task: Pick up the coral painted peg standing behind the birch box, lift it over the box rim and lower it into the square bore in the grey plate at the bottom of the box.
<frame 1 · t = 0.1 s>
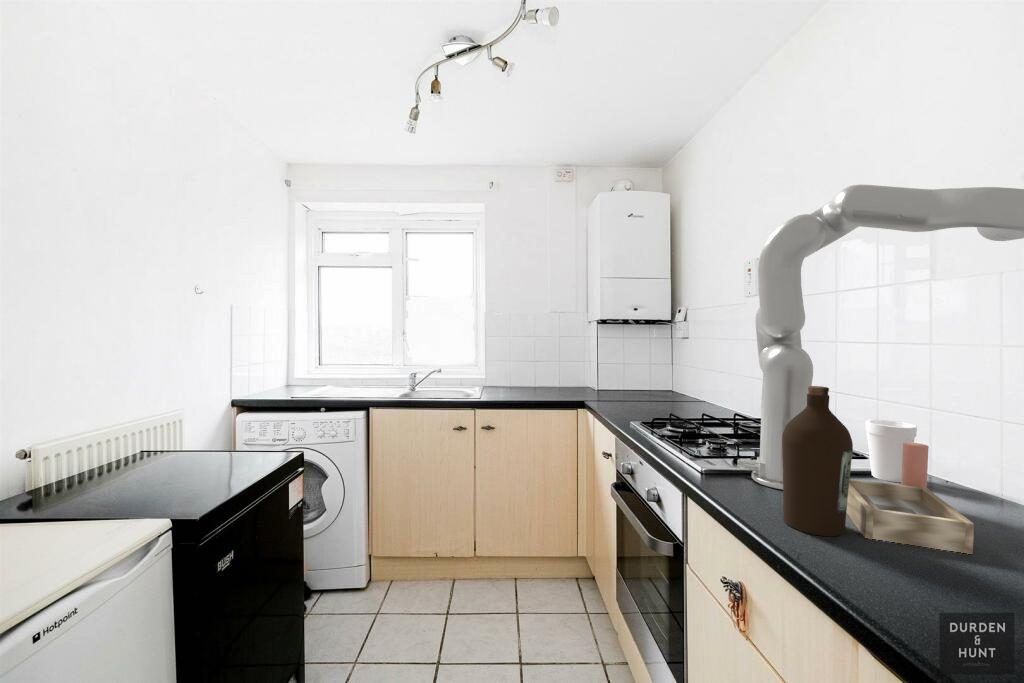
peg: (912, 502, 97), on the worktop
foam cup: (888, 478, 113), on the worktop
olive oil: (813, 526, 85), on the worktop
box: (897, 525, 86), on the worktop
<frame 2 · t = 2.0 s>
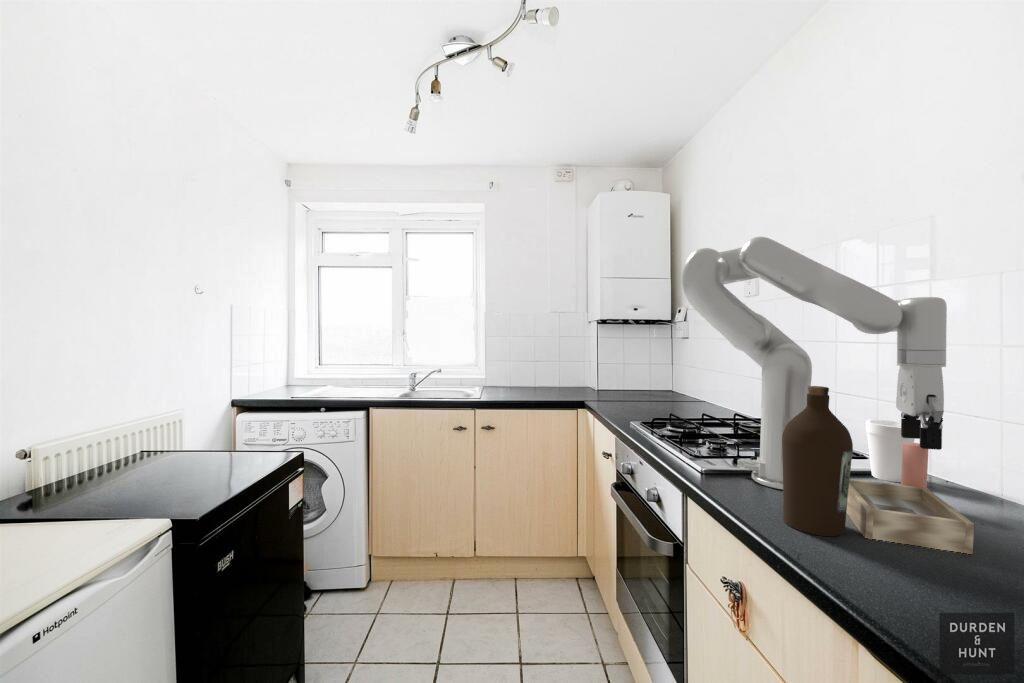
hand: (920, 443, 96), 12 cm above the worktop, tool pointing down, fingers open, 9 cm apart
nothing on the worktop moved.
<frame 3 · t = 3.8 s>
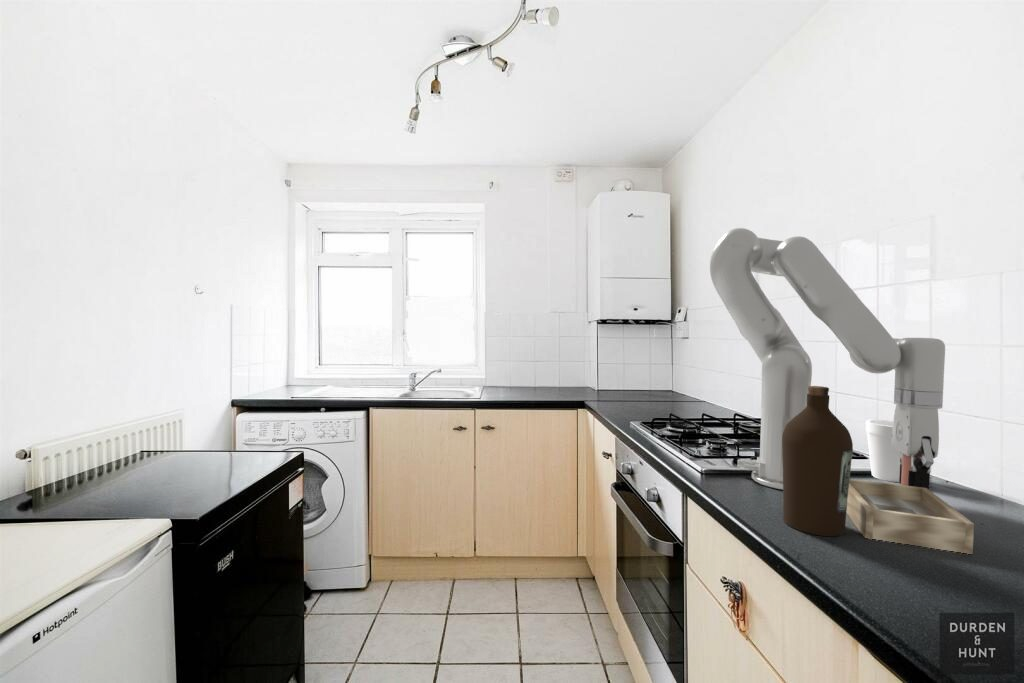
hand: (913, 486, 97), 3 cm above the worktop, tool pointing down, fingers closed on peg, 4 cm apart
peg: (912, 502, 97), on the worktop, touching gripper
everything else where it was.
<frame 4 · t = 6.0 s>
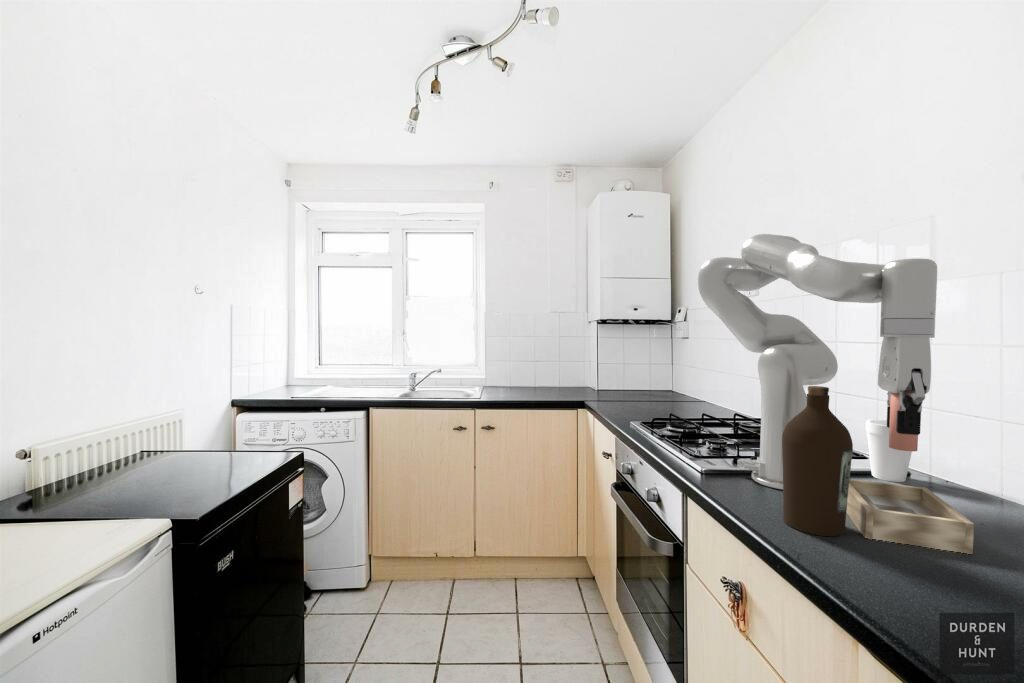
hand: (902, 430, 85), 17 cm above the worktop, tool pointing down, fingers closed on peg, 4 cm apart
peg: (902, 448, 85), point 14 cm above the worktop, touching gripper
everything else where it was.
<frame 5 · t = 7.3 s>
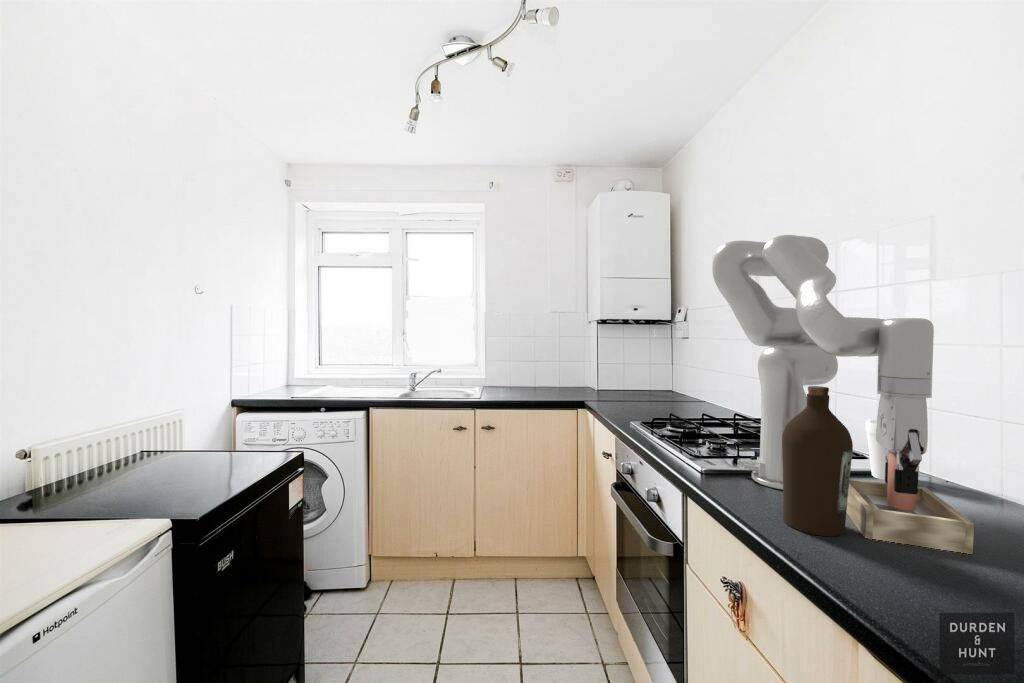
hand: (900, 487, 85), 7 cm above the worktop, tool pointing down, fingers closed on peg, 4 cm apart
peg: (901, 506, 85), point 4 cm above the worktop, touching gripper
everything else where it was.
when the fingers open (5 cm above the worktop, at t = 8.4 s): peg drops 1 cm, resting in box.
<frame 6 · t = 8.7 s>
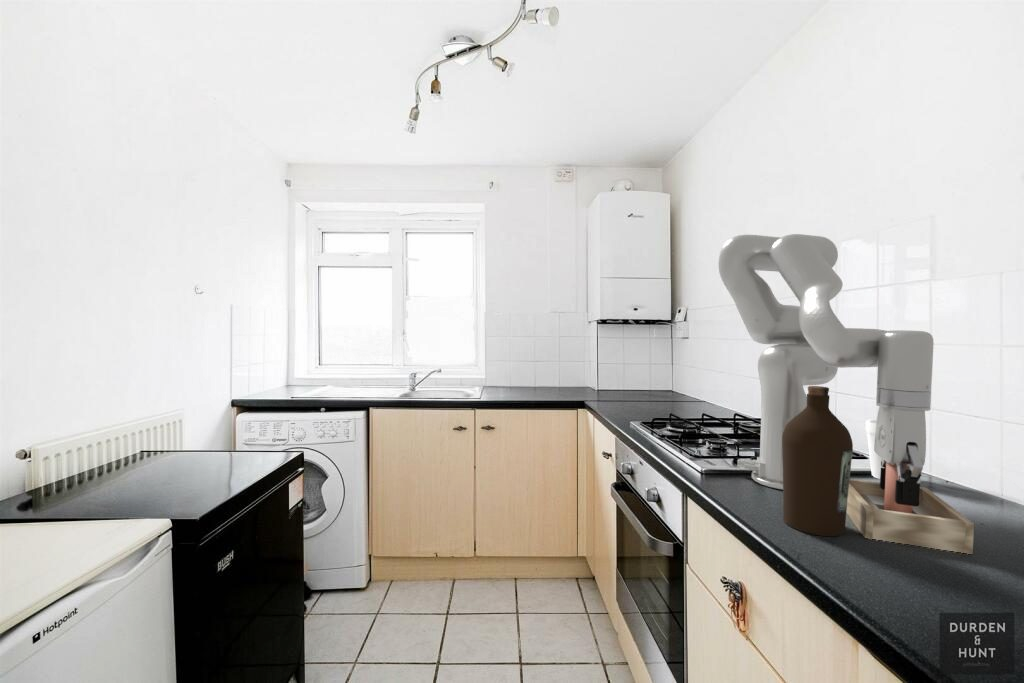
hand: (898, 496, 86), 5 cm above the worktop, tool pointing down, fingers open, 7 cm apart
peg: (897, 525, 86), resting in box
everything else where it was.
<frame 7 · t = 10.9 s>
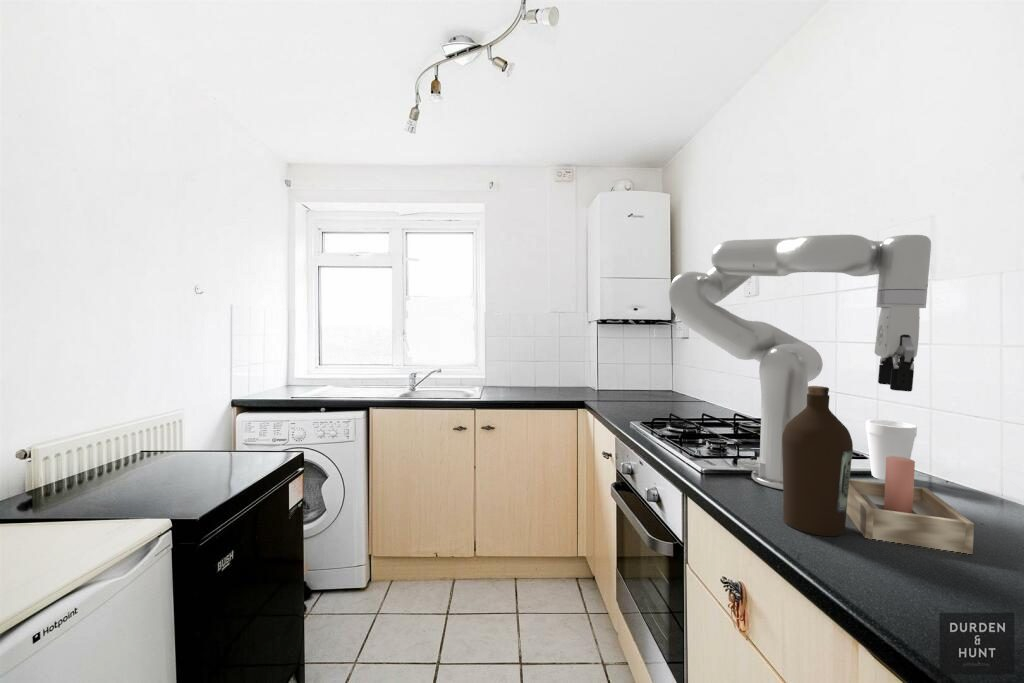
hand: (894, 387, 94), 24 cm above the worktop, tool pointing down, fingers open, 9 cm apart
nothing on the worktop moved.
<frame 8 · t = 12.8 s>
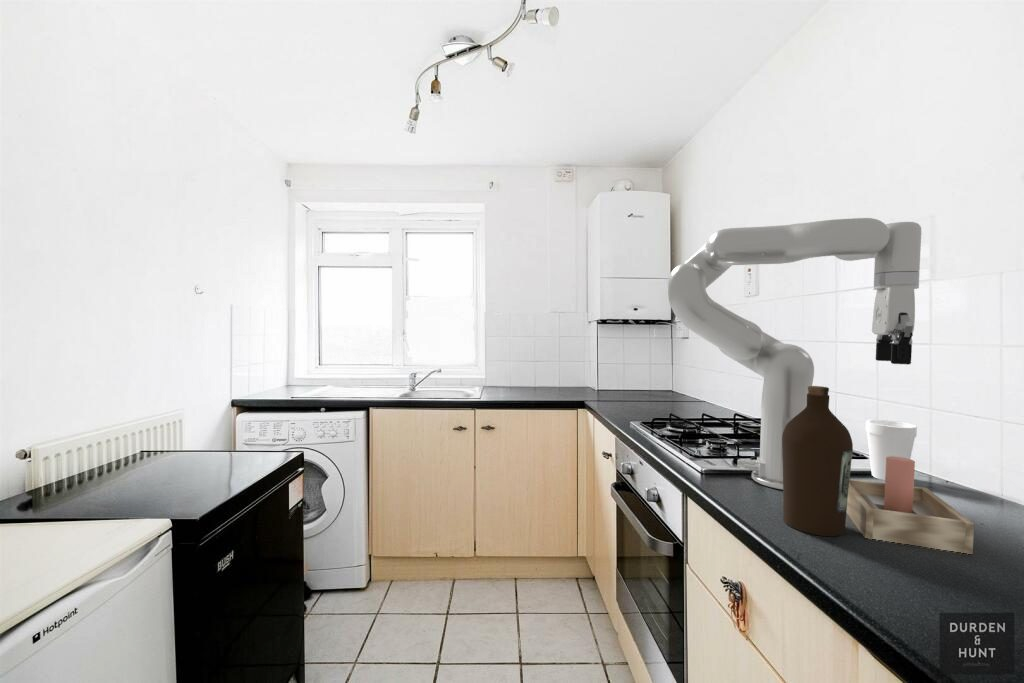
hand: (892, 362, 102), 28 cm above the worktop, tool pointing down, fingers open, 9 cm apart
nothing on the worktop moved.
at the end: peg 0.1 cm off-centre on the box, point 0.0 cm above the box's base; peg tilted 0°; the gripper is holding nothing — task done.
